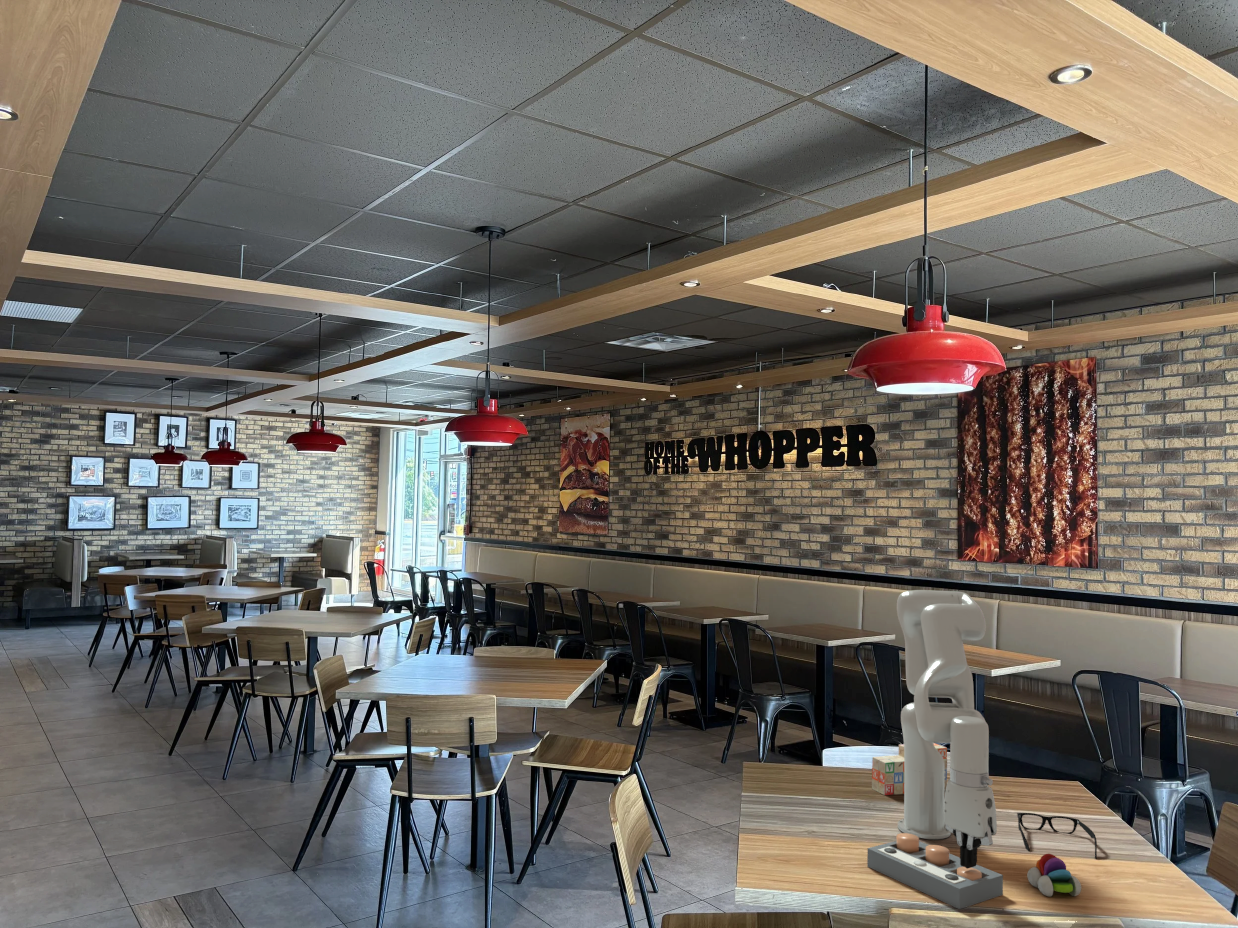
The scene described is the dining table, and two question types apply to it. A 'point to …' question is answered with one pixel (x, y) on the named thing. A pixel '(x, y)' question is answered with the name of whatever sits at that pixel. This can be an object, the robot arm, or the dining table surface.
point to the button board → (935, 875)
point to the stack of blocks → (896, 771)
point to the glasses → (1053, 827)
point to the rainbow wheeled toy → (1053, 877)
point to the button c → (969, 873)
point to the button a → (908, 843)
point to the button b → (937, 855)
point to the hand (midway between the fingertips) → (968, 865)
